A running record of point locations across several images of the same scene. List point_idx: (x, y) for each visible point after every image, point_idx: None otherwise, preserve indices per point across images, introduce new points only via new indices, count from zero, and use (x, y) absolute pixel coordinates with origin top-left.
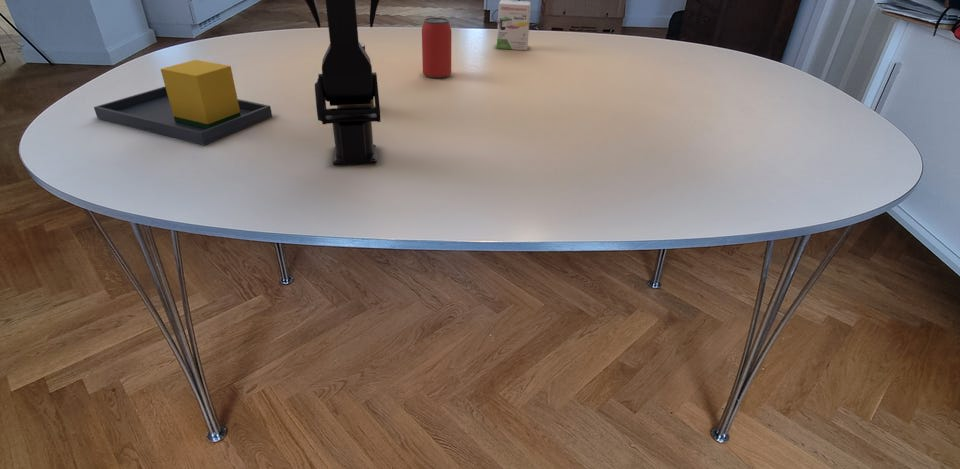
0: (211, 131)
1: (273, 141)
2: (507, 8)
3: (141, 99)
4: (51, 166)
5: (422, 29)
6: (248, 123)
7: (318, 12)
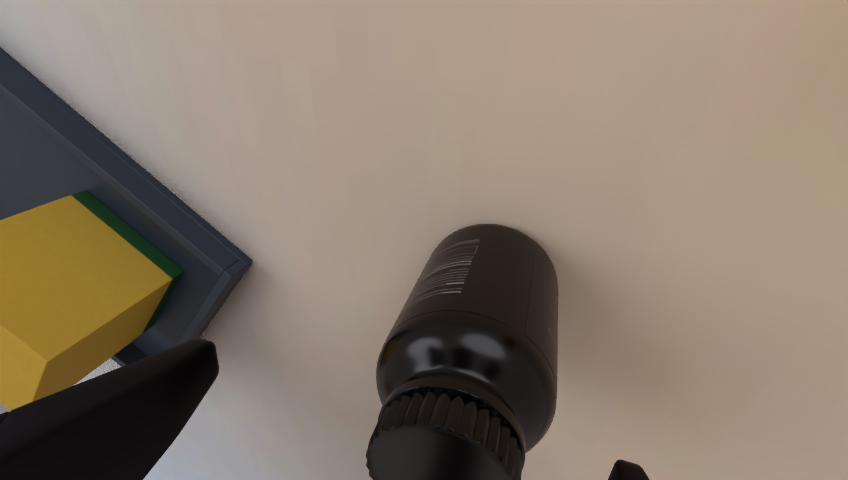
0: None
1: (290, 401)
2: None
3: None
4: None
5: None
6: (213, 313)
7: (121, 430)
